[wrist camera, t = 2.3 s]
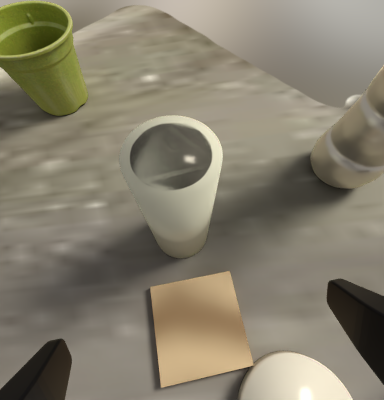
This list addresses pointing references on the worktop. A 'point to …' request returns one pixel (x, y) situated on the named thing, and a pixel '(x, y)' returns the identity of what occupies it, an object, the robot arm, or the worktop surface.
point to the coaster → (198, 329)
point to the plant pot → (42, 55)
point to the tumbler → (173, 179)
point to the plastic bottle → (354, 142)
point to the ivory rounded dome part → (290, 379)
